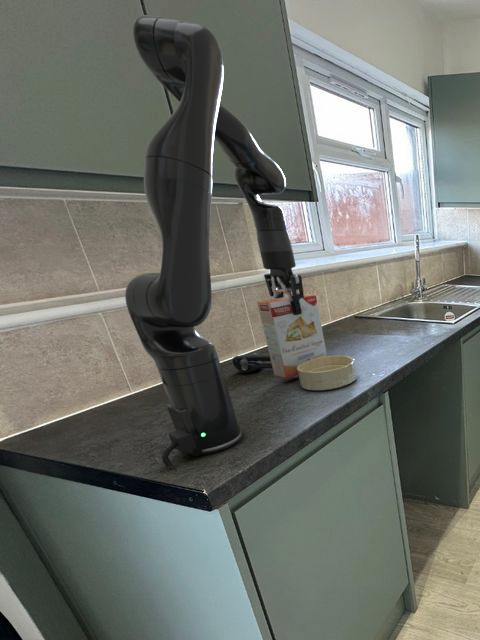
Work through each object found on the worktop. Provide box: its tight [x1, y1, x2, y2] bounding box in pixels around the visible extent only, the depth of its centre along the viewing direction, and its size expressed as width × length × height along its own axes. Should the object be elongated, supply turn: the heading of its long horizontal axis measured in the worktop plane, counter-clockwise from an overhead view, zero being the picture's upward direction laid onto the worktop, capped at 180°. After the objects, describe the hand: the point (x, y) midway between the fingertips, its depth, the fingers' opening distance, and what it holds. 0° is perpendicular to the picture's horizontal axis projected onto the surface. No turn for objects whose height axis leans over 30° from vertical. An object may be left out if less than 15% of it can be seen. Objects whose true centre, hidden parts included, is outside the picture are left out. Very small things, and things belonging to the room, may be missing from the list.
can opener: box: [232, 352, 273, 374], centre depth 124 cm, size 18×7×6 cm, turn 98°
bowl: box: [297, 355, 358, 391], centre depth 113 cm, size 14×14×6 cm
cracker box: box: [256, 293, 328, 380], centre depth 116 cm, size 14×6×21 cm, turn 152°
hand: (290, 313), depth 113 cm, fingers closed on cracker box, 6 cm apart
